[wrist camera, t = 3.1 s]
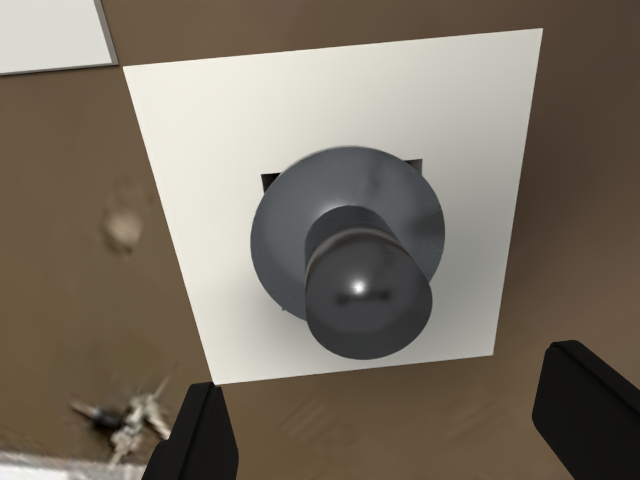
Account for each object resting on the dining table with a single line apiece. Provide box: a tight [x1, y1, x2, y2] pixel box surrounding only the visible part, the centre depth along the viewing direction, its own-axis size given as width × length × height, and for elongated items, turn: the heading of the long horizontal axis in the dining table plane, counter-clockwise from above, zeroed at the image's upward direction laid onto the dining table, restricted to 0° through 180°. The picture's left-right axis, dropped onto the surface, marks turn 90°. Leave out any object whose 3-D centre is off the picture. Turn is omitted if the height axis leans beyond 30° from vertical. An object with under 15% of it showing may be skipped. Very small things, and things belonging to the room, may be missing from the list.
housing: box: [123, 28, 543, 385], centre depth 22 cm, size 20×20×6 cm
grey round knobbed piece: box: [250, 145, 445, 360], centre depth 18 cm, size 11×11×12 cm
